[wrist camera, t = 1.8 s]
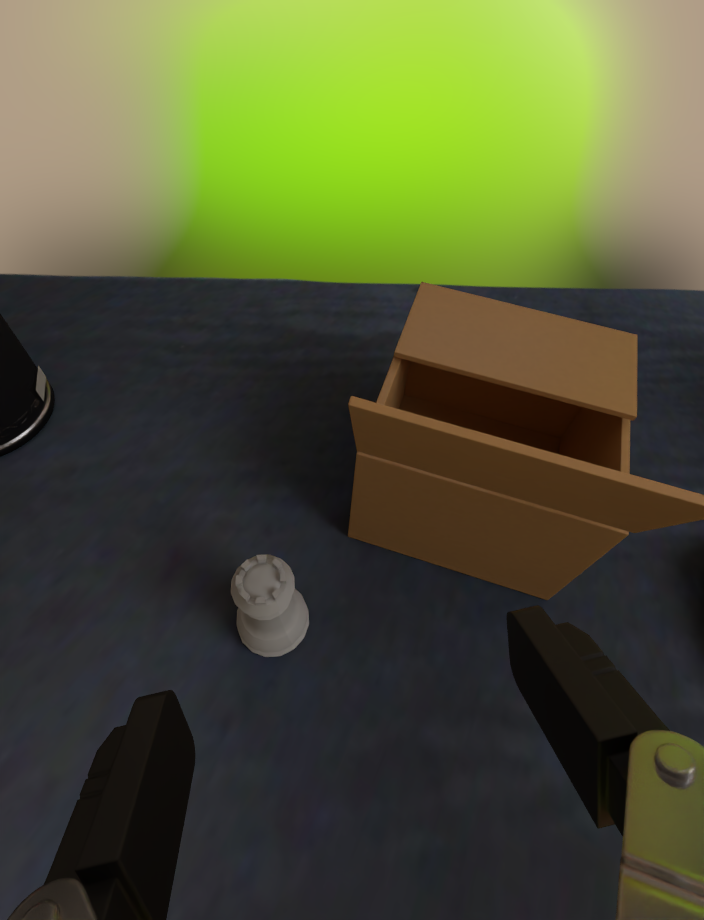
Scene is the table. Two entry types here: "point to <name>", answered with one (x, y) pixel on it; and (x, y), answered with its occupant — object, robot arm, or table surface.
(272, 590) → the rook chess piece
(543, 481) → the flap
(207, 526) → the table surface
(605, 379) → the carton
